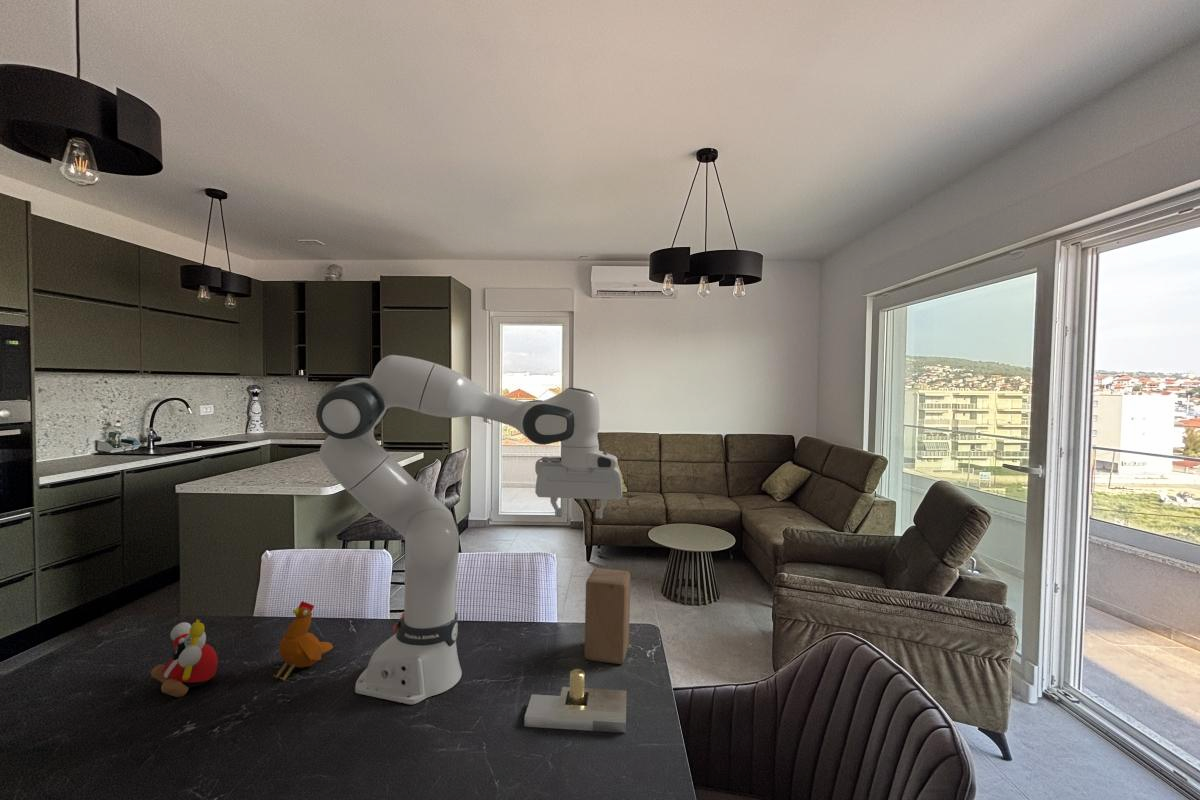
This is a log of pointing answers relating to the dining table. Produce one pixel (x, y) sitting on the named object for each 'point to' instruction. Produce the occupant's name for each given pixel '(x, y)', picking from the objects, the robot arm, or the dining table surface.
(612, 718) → the stepped socket block
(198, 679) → the toy
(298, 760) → the dining table surface
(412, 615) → the robot arm
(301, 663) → the toy
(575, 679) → the pin
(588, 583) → the wooden block
